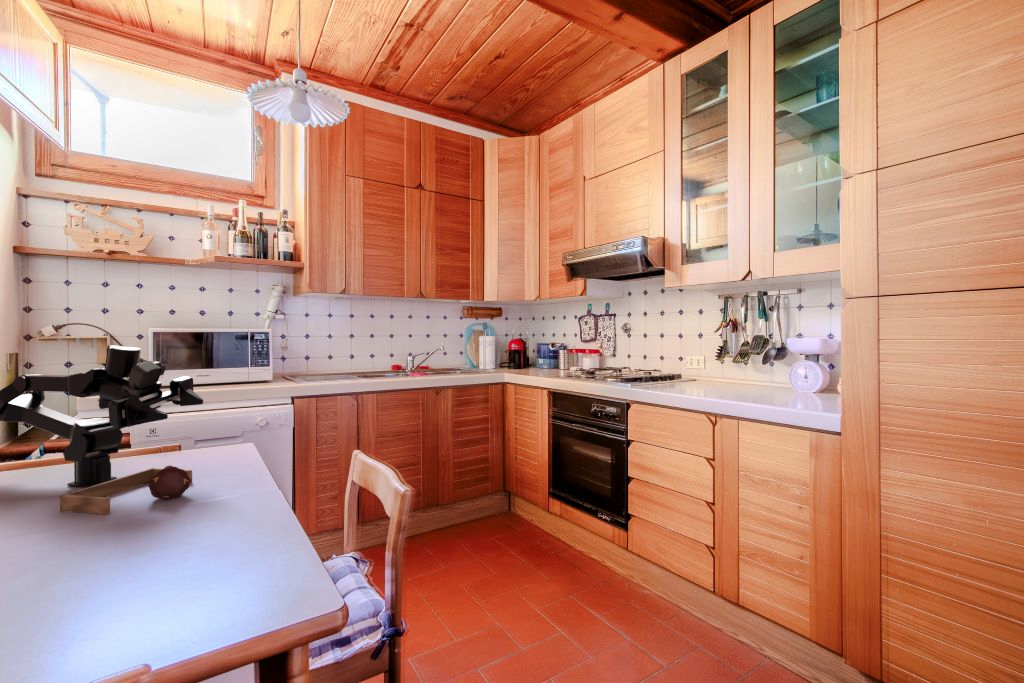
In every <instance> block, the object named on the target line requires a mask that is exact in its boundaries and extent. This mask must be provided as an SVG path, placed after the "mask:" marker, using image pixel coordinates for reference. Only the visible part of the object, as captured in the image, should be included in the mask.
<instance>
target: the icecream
mask: <svg viewBox="0 0 1024 683" xmlns="http://www.w3.org/2000/svg"><path fill="white" fill-rule="evenodd" d="M163 468H164V469H161V470H160V471H158V472H157V473H156V474H155V475H154V476H153V477H151V478H150V481H149V483H147V484H148V485H147V487H148V488H149V491H150V494H151V495H152V497H153V498H155V499H156V498H157V499H159V500H162V501H168V499H169V500H174V499H178V498H181V497H182V496H183V494H184V493H185V492H186V491H187V490H188V489H189V488H190V484H192V483H191V479H190V478H189V476H188V474H187V472H186V471H185V470H186V469H184V470H182V468H179V467H177V466H173V465H167V466H165V467H163ZM173 498H174V499H173Z"/></svg>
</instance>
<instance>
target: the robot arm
mask: <svg viewBox="0 0 1024 683" xmlns="http://www.w3.org/2000/svg"><path fill="white" fill-rule="evenodd" d="M141 351H142V349H141V348H140V347H137V346H125V345H124V346H123V345H117V344H116V345H115V344H113V345H112V344H111V345H108V344H107V347H106V357H105V365H104V367H103V368H102V367H101V368H92V369H90V370H88V371H85V372H79V373H78V372H77V373H74V374H69V375H67V374H66V375H64V374H42V373H32V374H31V373H30V374H22V375H19V376H17V377H16V378H15V379H13V381H12V382H11V383H10V384H8V385H6V386H5V387H4V388H1V389H0V422H1V423H3V422H4V423H24V424H26V425H29V426H32V427H35V428H37V429H39V430H43V431H45V432H48V433H50V434H53V435H56V436H58V437H61V438H64V439H67V440H68V442H69V444H68V445H67V446H66V448H65V449H63V451H62V455H63V458H64V461H66V462H67V461H68V462H74V463H73V464H74V466H73V468H74V470H73V471H74V481H71V482H68V483H66V485H67V486H68V487H83V488H88V487H91V486H94V485H97V484H101V483H104V482H107V481H111V480H114V479H117V478H118V477H117V476H112V462H111V455H113V454H117V453H118V452H119V450H120V446H121V444H122V440H123V436H124V435H123V431H122V429H124V428H126V427H127V428H130V427H133V426H137V425H143V424H148V423H153V422H157V421H163V420H167V419H168V418H169V415H168V413H166V412H164V411H162V410H159V409H160V408H161V406H162V405H164V404H167V403H170V402H171V403H172V404H173V405H176V406H180V407H186V406H189V407H190V406H198V405H199V406H200V405H203V404H204V399H203V398H202V397H200V396H199V395H198V394H197V393H196V392H195V391H194V379H193V377H191V376H187V375H184V376H180V377H177V378H174V379H172V380H171V381H169V390H167V391H164V392H163V390H161V388H163V384H162V381H161V382H160V381H159V379H160V377H161V376H163V375H164V374H165V370H166V367H167V366H166V365H165V364H163V363H162V362H161V361H156V360H153V361H151V360H148V361H145V362H140V357H141ZM127 378H128V379H127ZM25 392H31V393H25ZM45 392H55V393H56V392H57V393H60V392H61V393H62V392H63V393H68V395H69V396H73V397H76V398H82V399H85V398H92V397H98V396H99V398H98V399H97V401H98V407H99V409H100V410H105V409H108V419H109V420H107V418H105V417H95V418H89V419H88V418H87V419H79V418H76V417H73V416H71V415H68V414H65V413H62V412H59V411H57V410H54V409H51V408H49V407H46V406H44V405H43V404H42V403H43V402H44V401H45V400H46V398H45V397H46V396H45Z"/></svg>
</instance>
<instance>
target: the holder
mask: <svg viewBox="0 0 1024 683" xmlns="http://www.w3.org/2000/svg"><path fill="white" fill-rule="evenodd" d="M164 468H165V467H162V468H161V467H151V468H147V469H144V470H141V471H137V472H134V473H131V474H128V475H125V476H121V477H117V479H114V480H111V481H107V482H104V483H101V484H97V485H94V486H91V487H83V488H82V489H78V490H75V491H71V492H69V493H65V494H61V495H59V512H67V511H72V512H71V513H80V512H85V513H84V514H94V513H97V514H98V515H108V514H111V497H110V496H113V495H116V494H119V493H122V492H125V491H129V490H131V489H134V488H137V487H140V486H143V485H146V484H149V483H148V482H149V481H150V478H151V477H153V476H154V475H155V474H156V473H157V472H158V471H160V470H161V469H164ZM181 469H182V468H181ZM182 470H185V471H186V472H187V474H188V476H189V478H190V479H191V482H192V483H193V470H192V469H182ZM145 483H146V484H145ZM142 484H143V485H142ZM139 485H140V486H139Z"/></svg>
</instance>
